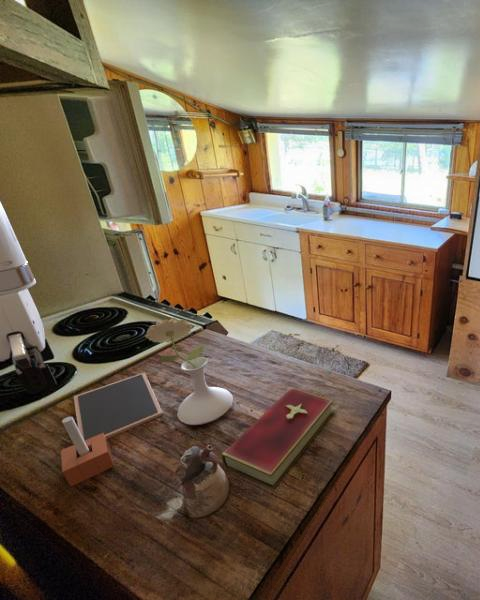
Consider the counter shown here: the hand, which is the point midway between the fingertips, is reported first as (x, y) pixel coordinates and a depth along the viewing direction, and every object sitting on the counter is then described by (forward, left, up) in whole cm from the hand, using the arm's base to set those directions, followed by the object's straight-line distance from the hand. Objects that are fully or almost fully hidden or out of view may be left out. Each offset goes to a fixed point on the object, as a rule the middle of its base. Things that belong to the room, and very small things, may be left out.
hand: (42, 374), depth 54 cm
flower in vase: (+20, +1, -22) cm, 30 cm away
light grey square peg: (0, 0, -22) cm, 22 cm away
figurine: (+14, -22, -22) cm, 34 cm away
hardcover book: (+30, -19, -22) cm, 42 cm away
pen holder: (0, 0, -22) cm, 22 cm away
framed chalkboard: (+6, +16, -22) cm, 28 cm away
